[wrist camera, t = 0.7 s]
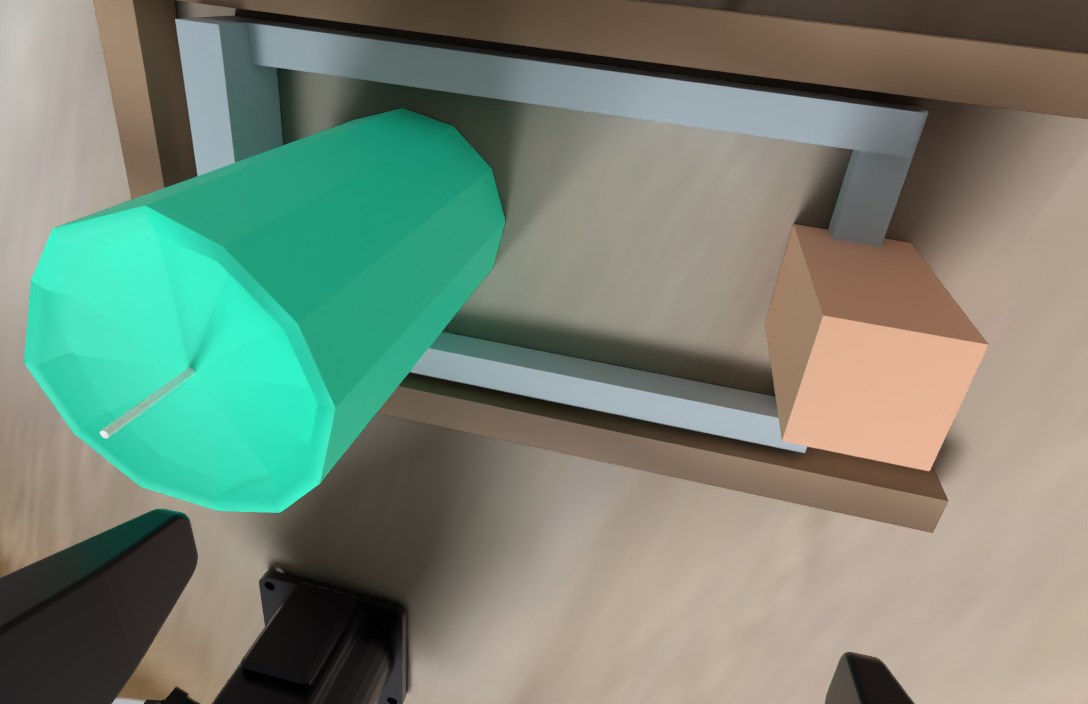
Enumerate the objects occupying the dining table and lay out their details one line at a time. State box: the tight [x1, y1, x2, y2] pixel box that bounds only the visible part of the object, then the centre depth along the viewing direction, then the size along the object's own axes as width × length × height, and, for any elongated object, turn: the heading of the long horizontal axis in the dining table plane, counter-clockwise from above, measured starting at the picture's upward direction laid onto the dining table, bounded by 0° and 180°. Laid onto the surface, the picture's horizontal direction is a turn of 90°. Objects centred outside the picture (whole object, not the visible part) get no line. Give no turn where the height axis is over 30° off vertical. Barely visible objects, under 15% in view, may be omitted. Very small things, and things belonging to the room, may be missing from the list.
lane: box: [93, 0, 1088, 533], centre depth 19 cm, size 13×25×2 cm, turn 85°
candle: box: [24, 108, 506, 513], centre depth 16 cm, size 6×6×12 cm
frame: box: [175, 16, 988, 471], centre depth 18 cm, size 10×19×6 cm, turn 85°
